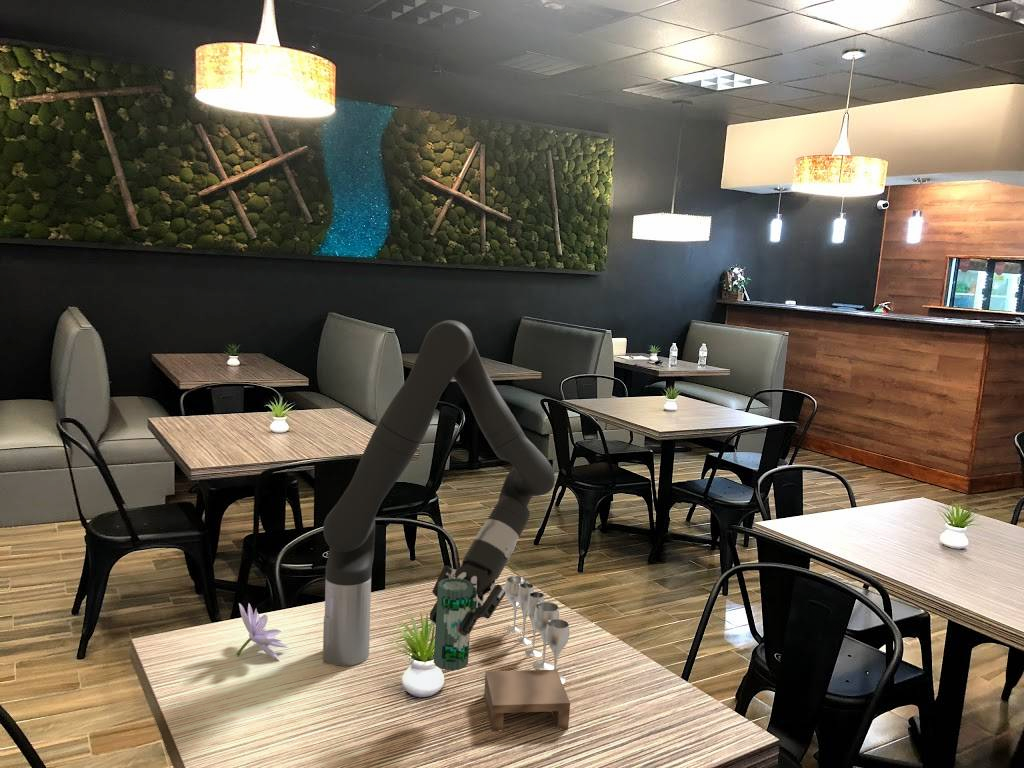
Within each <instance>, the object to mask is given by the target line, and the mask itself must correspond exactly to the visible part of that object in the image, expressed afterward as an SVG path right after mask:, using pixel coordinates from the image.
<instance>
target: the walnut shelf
mask: <svg viewBox="0 0 1024 768" xmlns="http://www.w3.org/2000/svg"><path fill="white" fill-rule="evenodd" d="M559 674H560V673H559V672H558V669H556V670H554V669H552V670H537V669H531V670H530V669H528V670H527V669H525V670H524V669H523V670H522V669H521V670H487V671H485V674H484V692H483V693H484V694H483V697H484V701H485V705H486V710H487V716H488V721H489V725H491V726H490V730H491V732H500V731H499V730H503V731H504V715H505V714H511V713H535V712H536V713H539V712H541V713H542V712H551V711H552V712H551V714H552V716H553V721H554V723H555V725H557V726H556V729H557V728H558V729H557V730H566V729H565V728H568V729H569V726H570V724H569V723H570V710H571V702H570V699H569V696H568V694H567V692H566V689H565V686H564V683H562V681H561V679H560V676H559ZM560 728H562V729H560Z"/></svg>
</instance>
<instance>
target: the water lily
mask: <svg viewBox="0 0 1024 768" xmlns="http://www.w3.org/2000/svg"><path fill="white" fill-rule="evenodd" d="M238 606H239V607H238V608H239V611H240V612H239V613H240V616H241V620H242V622H243V624H244V626H245V629H246V630H247V631H248V633H249V634H248V636H249V638H248V639H247V640H246V641H245V642H244V643H243V644H242V646H241V647H240V648H239V649H238V651H236V654H235V655H239V656H240V654H241V653H242V652H243V651H244V649H245V647H246V646H247V645H249V643H250V642H253V643H255V644H256V645H257V647H259V648H260V649H261V650H262V651H263V652H264V653H266V654H267V655H268V656H269V657H271V658H274V659H275V660H276V661H279V660H278V659H277V658H279V659H280V657H279V656H278V654H277V653H276V652H274V651H273V649H271V648H270V647H268V646H266V645H269V646H272V647H277V648H284V649H285V648H289V646H288V645H287V644H285V643H283V640H282V639H278V638H276V636H277V635H279V634H280V633H282V630H280V629H275V628H273V629H268V630H267V628H266V626H267V623H268V619H269V618H268V615H267V614H263V615H261V616H260V613H258V610H257V608H255V610H254V611H253V608H252V606H251V604H250V603H248V606H247V612H246V610H245V608H244V606H243V605H242V604H241V603H239V602H238Z"/></svg>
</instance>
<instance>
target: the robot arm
mask: <svg viewBox="0 0 1024 768" xmlns="http://www.w3.org/2000/svg"><path fill="white" fill-rule="evenodd" d="M453 378H454V381H455V382H456V383H457V384H458V386H459V387H460V389H461V391H462V393H463V394H464V396H465V398H466V400H467V403H468V405H469V407H470V409H471V412H472V414H473V416H474V418H475V420H476V423H477V425H478V427H479V429H480V430H481V433H482V434H483V436H484V438H485V439H486V441H487V442H488V444H489V446H490V448H491V449H492V450H493V452H494V454H495V455H496V457H498V458H499V459H500V460H503V461H506V462H509V463H510V464H511V465H512V468H511V469H510V471H508V474H507V475H506V477H505V479H504V481H503V485H502V487H501V490H500V494H499V496H498V501H497V503H496V504H495V506H494V508H493V509H492V511H491V512H490V515H489V516H488V517H487V520H486V521H485V523H484V524H483V525H482V526H481V528H480V529H479V531H478V532H477V534H476V536H475V537H474V539H473V541H472V542H471V544H470V546H469V548H468V550H467V551H466V553H465V555H464V557H463V559H462V563H461V565H460V566H458V568H457V569H456V568H455V569H454V568H450V565H447V564H446V565H444V566H443V568H442V569H441V572H440V573H439V576H438V578H437V580H436V581H435V584H434V586H433V588H432V590H431V591H432V592H431V593H432V594H433V595H434V596H435V598H437V594H438V582H440V581H441V580H444V579H447V578H449V579H450V578H460V579H465V580H468V581H470V582H471V584H473V594H472V602H471V606H470V613H469V612H468V613H467V614H466V616H465V618H464V620H463V622H462V623H461V625H460V627H459V629H458V631H459V632H460V633H461V635H464V636H466V635H467V634H469V633H470V634H471V633H472V631H473V629H474V626H475V624H476V623H477V621H478V620H479V619H481V618H485V619H490V618H491V617H492V615H493V613H494V612H495V611H496V609H497V607H498V606H499V605H500V603H501V602H502V600H503V598H504V597H505V594H506V592H505V591H504V587H502V585H500V584H496V582H495V581H496V580H498V579H499V577H500V576H501V574H502V573H503V570H504V569H505V567H506V565H507V563H508V561H509V559H510V557H511V555H512V554H513V552H514V550H515V547H516V545H517V542H518V540H519V538H520V536H521V535H522V533H523V531H524V529H525V528H526V526H527V524H528V521H529V519H530V509H529V508H528V506H529V503H530V501H531V500H532V498H535V497H540V496H545V495H547V494H549V493H550V492H551V491H552V490H553V488H554V487H555V483H556V478H555V477H556V476H555V472H554V469H553V467H552V464H551V463H550V461H549V460H548V459H547V458H546V456H545V455H544V454H543V453H542V452H541V451H540V450H539V449H538V447H536V445H535V444H533V443H532V441H530V439H528V437H527V436H526V435H525V433H524V431H523V429H522V427H521V426H520V424H519V423H518V421H517V419H516V417H515V416H514V414H513V413H512V412H511V410H510V408H509V406H508V405H507V403H506V401H505V400H504V398H503V397H502V395H501V394H500V392H499V391H498V389H497V388H496V386H495V384H494V382H493V381H492V378H491V377H490V375H489V373H488V371H487V369H486V367H485V365H484V363H483V361H482V357H481V356H480V353H479V351H478V348H477V346H476V343H475V340H474V337H473V333H472V332H471V330H470V329H469V327H467V326H466V325H465V324H464V323H462V322H460V321H458V320H452V319H448V320H447V319H446V320H443V321H441V322H437V323H436V324H434V325H433V326H432V327H430V329H429V330H428V331H427V332H426V335H425V337H424V339H423V342H422V345H421V347H420V350H419V351H418V354H417V356H416V359H415V362H414V363H413V366H412V368H411V370H410V372H409V375H408V377H407V378H406V381H405V382H404V383H403V384H402V386H401V388H400V389H399V390H398V392H397V393H396V395H395V396H394V397H393V399H392V400H391V402H390V404H389V405H388V407H387V408H386V410H385V412H384V413H383V415H382V416H381V417H380V420H379V422H378V423H377V425H376V427H375V428H374V431H373V433H372V435H371V436H370V438H369V441H368V443H367V445H366V446H365V448H364V451H363V454H362V456H361V458H360V459H359V463H358V464H357V467H356V470H355V472H354V474H353V476H352V479H351V481H350V483H349V485H348V487H346V489H345V490H344V492H343V494H342V495H341V497H340V498H339V500H338V501H337V503H336V504H335V505H334V507H332V508H331V510H330V511H329V512H328V513H327V516H326V517H325V519H324V522H323V527H322V528H323V530H322V531H323V532H322V533H323V538H324V540H325V542H326V544H327V545H328V546H329V550H328V551H329V552H328V556H327V557H328V558H327V561H326V563H325V585H324V586H325V589H324V590H325V591H324V597H325V598H324V616H323V630H322V631H323V637H322V640H323V641H322V643H323V644H322V663H328V664H332V665H335V666H342V667H346V666H355V665H359V664H361V663H363V662H365V661H366V660H367V659H368V658H369V656H370V634H371V633H370V632H371V631H370V630H371V628H370V627H371V597H372V596H371V595H372V593H371V592H372V570H373V569H372V568H373V562H374V556H375V541H376V540H375V538H376V516H377V513H378V511H379V509H380V507H381V505H382V504H383V501H384V499H385V498H386V496H387V495H388V494H389V492H390V491H391V489H392V488H393V487H394V486H395V483H397V482H398V480H399V478H400V477H401V475H402V474H403V473H404V472H405V470H406V468H407V467H408V466H409V464H410V462H411V461H412V459H413V458H414V456H415V454H416V452H417V450H418V449H419V447H420V446H421V443H422V441H423V440H424V438H425V436H426V434H427V431H429V430H428V429H429V427H430V425H431V422H432V420H433V416H434V414H435V411H436V408H437V405H438V403H439V400H440V398H441V396H442V394H443V393H444V391H445V390H446V389H447V387H448V385H449V384H450V382H451V380H452V379H453ZM488 593H489V595H488V596H487V597H486V599H485V595H486V594H488ZM436 611H437V601H435V604H434V606H433V607H432V609H431V610H430V612H429V620H430V621H431V622H432V623H434V624H436Z"/></svg>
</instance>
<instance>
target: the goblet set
mask: <svg viewBox="0 0 1024 768" xmlns="http://www.w3.org/2000/svg"><path fill="white" fill-rule="evenodd" d="M503 589H504V591H505V592H506V594H505V596H504V597H505V598H506V600H507V601H508V602H509V603H510V604H511V606H512V608H513V625H514V626H509V625H507V626H508V627H506V626H505V627H506V629H505V630H507V632H506V633H507V634H509V633H511V632H512V633H518V632H519V633H520V632H521V631H523V633H522V636H519V637H520V638H518V637H517V638H518V639H517V641H516V642H519V643H521V644H524V645H523V646H528V644H529V645H531V644H532V648H527V649H525V650H524V651H525V653H526V655H525V656H526V657H529V656H530V658H539V657H541V656H542V659H538V660H536V661H534V662H532V663H531V664H532V665H533V666H532V667H533V669H534V670H557V664H558V658H559V655H560V653H561V652H562V651H563V650H564V648H565V647H566V646H567V645H568V644H567V643H568V642H569V638H570V625H569V622H567V621H566V620H563V619H561V618H560V609H559V605H558V604H556V603H553V602H550V601H549V602H548V601H546V600H545V595H544V593H542V592H539V591H535V587H534V584H532V583H529V582H528V580H527V578H525V577H524V576H518V575H513V576H509V577H507V579H506V580H505V583H504V586H503ZM519 607H520V610H521V612H522V613H521V614H522V619H523V624H522V626H523V627H522V628H523V630H522V629H521V628H520V627H518V626H519V625H517V626H515V625H516V621H517V620H516V617H517V611H518V609H519ZM527 616H528V618H529V620H530V622H531V626H532V639H531V638H530V637H526V636H525V633H526V622H527V621H526V620H527ZM537 632H538V633H539V635H540V637H541V639H542V643H543V644H542V645H543V652H542V650H540V649H538V648H535V641H536V633H537ZM529 638H530V639H531V640H530V639H529ZM516 642H515V643H516ZM525 644H526V645H525ZM547 645H548V647H549V648H550V650H551V653H552V654H553V662H554V663H553V662H552V661H549V660H546V652H547V651H546V650H547ZM558 674H559V676H560V679H561V681H562V684H564V683H566V677H565V676H564V675H562V674H560V673H558Z"/></svg>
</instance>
